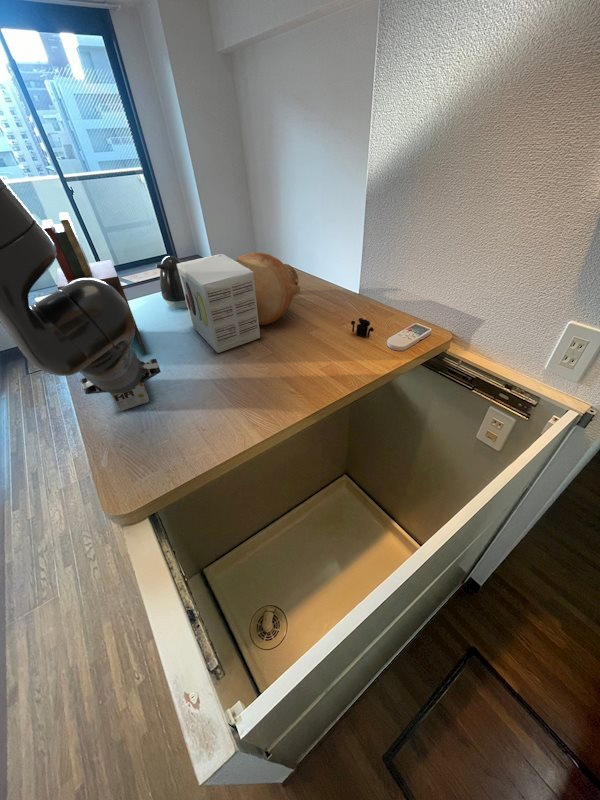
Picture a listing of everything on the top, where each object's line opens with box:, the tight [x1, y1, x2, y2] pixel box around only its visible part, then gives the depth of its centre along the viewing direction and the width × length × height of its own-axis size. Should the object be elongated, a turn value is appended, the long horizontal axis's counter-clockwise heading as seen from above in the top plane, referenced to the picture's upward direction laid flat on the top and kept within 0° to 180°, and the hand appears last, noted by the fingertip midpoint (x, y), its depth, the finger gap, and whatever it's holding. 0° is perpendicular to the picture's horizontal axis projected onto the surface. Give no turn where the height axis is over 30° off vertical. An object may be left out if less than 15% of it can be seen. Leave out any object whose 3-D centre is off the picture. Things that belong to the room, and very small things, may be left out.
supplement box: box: [177, 253, 261, 353], centre depth 85 cm, size 17×13×18 cm
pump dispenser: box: [155, 255, 188, 310], centre depth 100 cm, size 10×10×15 cm
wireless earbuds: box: [350, 317, 375, 339], centre depth 88 cm, size 7×2×5 cm, turn 50°
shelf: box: [41, 211, 148, 356], centre depth 76 cm, size 12×13×31 cm
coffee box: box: [109, 382, 150, 412], centre depth 66 cm, size 9×6×16 cm
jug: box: [234, 252, 301, 326], centre depth 96 cm, size 20×19×30 cm
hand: (130, 384), depth 65 cm, fingers closed
